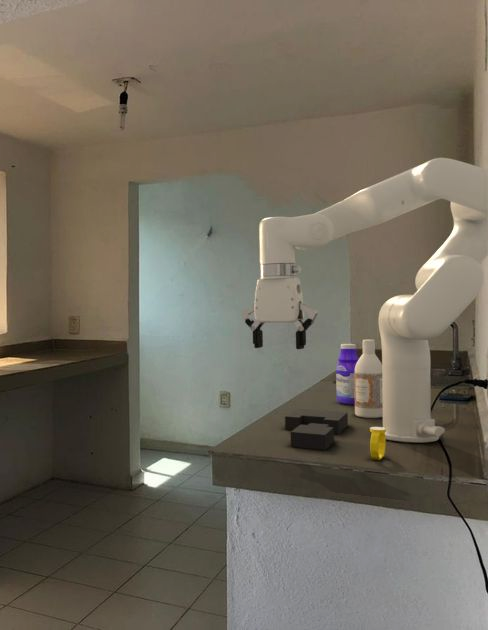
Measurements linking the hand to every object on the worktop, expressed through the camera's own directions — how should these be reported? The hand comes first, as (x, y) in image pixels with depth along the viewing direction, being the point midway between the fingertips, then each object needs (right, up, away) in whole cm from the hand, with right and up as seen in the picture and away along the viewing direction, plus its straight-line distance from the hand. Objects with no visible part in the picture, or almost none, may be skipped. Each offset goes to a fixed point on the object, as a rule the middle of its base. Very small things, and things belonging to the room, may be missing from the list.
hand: (279, 348), depth 147 cm
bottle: (+35, -19, +43) cm, 59 cm away
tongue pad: (+6, -20, -6) cm, 22 cm away
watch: (+13, -21, -20) cm, 32 cm away
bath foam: (+31, -19, +23) cm, 43 cm away
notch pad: (+12, -20, +10) cm, 26 cm away
